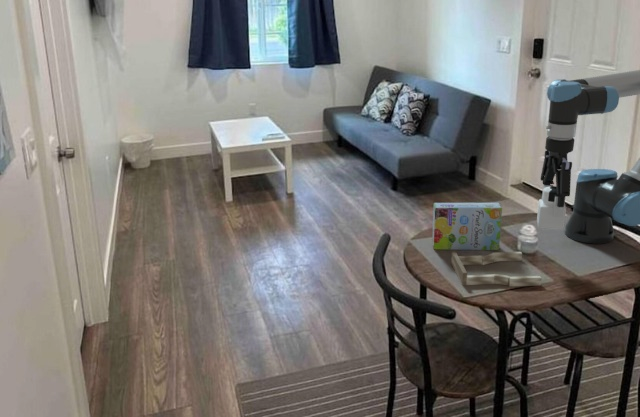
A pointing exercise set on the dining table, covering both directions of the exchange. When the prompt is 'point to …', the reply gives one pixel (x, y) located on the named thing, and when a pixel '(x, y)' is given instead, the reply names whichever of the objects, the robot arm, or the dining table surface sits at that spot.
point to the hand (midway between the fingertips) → (551, 210)
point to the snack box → (466, 226)
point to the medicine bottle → (549, 211)
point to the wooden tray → (495, 278)
